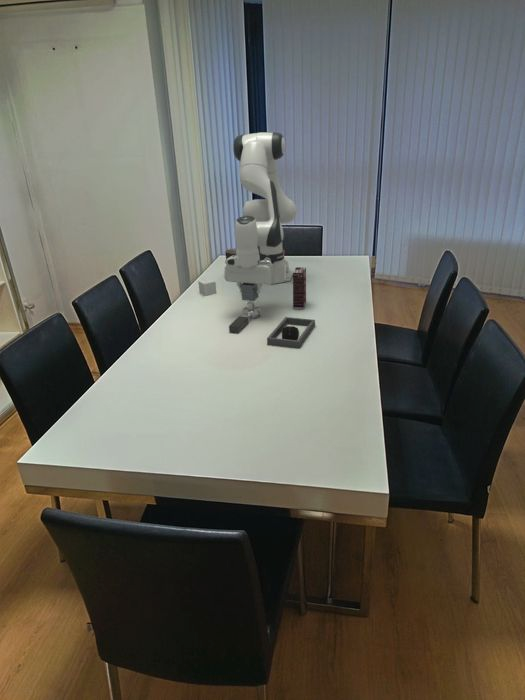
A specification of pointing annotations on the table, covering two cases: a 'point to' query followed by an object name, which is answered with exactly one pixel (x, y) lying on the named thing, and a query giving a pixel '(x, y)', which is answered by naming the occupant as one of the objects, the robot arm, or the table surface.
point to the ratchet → (245, 318)
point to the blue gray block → (249, 291)
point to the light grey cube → (207, 287)
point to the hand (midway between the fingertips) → (250, 293)
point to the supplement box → (299, 288)
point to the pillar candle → (230, 252)
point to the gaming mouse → (290, 333)
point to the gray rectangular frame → (285, 342)
